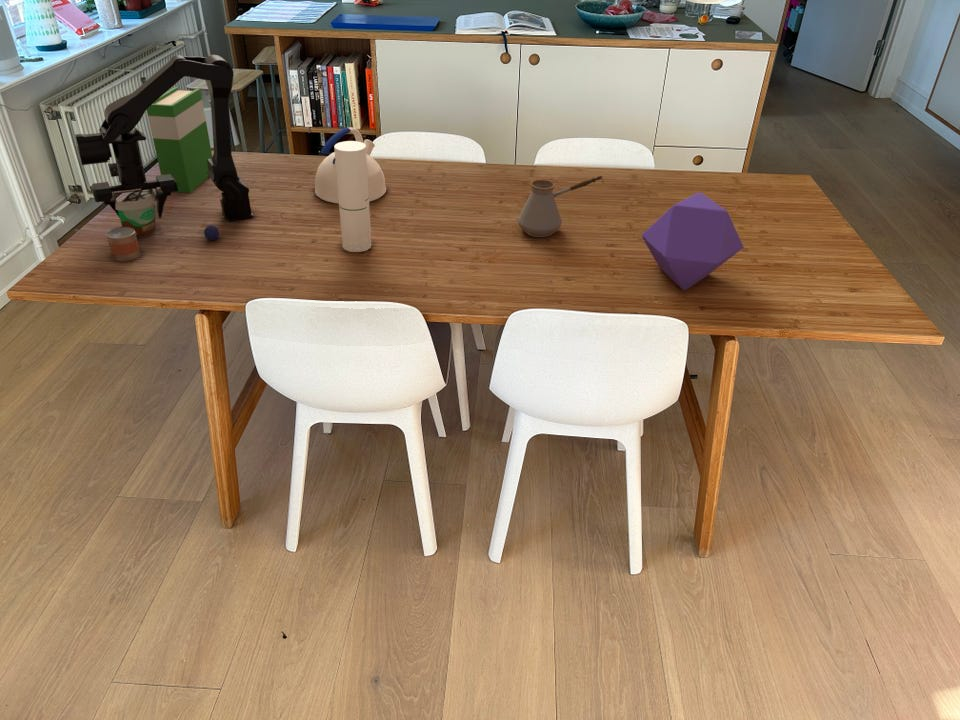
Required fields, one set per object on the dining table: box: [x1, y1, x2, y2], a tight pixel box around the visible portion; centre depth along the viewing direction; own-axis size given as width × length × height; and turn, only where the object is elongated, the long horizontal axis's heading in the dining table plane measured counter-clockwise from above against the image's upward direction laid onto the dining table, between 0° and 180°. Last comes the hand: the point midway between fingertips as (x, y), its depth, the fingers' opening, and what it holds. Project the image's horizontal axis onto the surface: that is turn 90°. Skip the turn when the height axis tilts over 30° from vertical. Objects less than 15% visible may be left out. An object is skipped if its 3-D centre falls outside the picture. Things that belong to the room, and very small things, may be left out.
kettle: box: [314, 127, 387, 205], centre depth 208 cm, size 20×21×18 cm
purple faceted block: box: [641, 191, 744, 291], centre depth 170 cm, size 22×20×20 cm
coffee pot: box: [517, 175, 605, 238], centre depth 190 cm, size 21×12×15 cm, turn 94°
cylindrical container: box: [333, 140, 372, 253], centre depth 177 cm, size 7×7×25 cm
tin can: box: [106, 226, 141, 262], centre depth 174 cm, size 6×6×6 cm
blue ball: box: [203, 225, 220, 241], centre depth 183 cm, size 4×4×4 cm
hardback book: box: [146, 86, 213, 194], centre depth 209 cm, size 18×7×24 cm, turn 174°
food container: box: [115, 189, 157, 238], centre depth 184 cm, size 12×6×10 cm, turn 170°
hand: (142, 220), depth 185 cm, fingers closed on food container, 8 cm apart
